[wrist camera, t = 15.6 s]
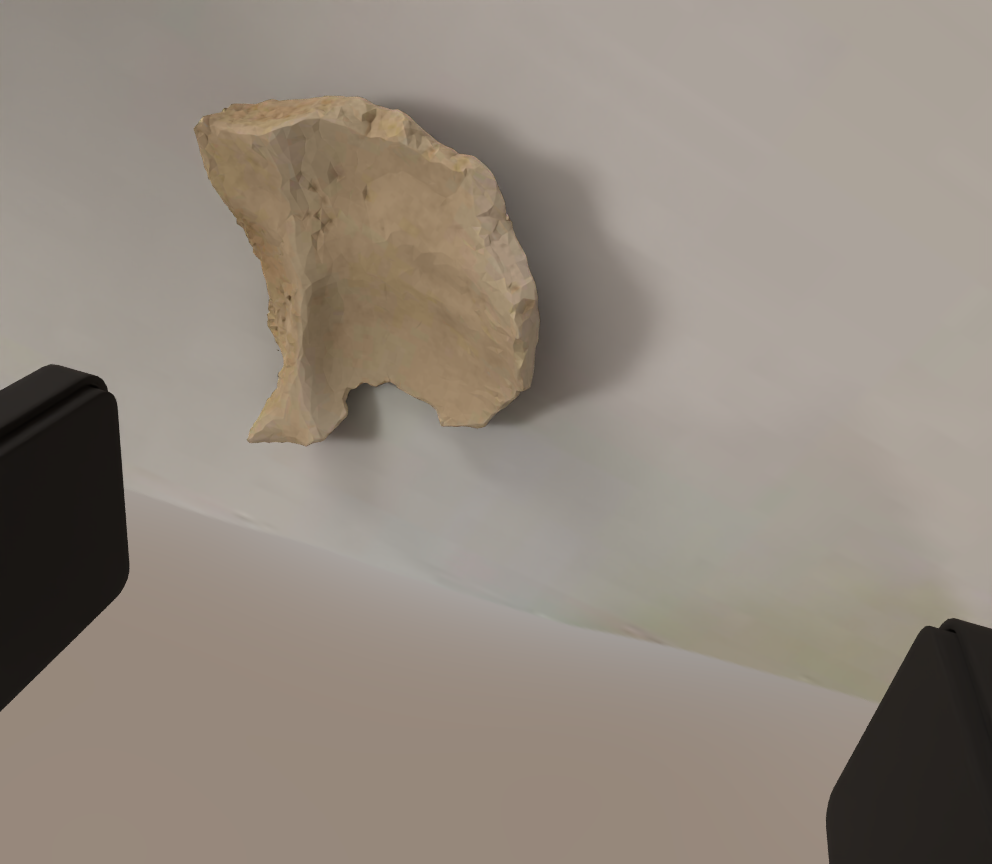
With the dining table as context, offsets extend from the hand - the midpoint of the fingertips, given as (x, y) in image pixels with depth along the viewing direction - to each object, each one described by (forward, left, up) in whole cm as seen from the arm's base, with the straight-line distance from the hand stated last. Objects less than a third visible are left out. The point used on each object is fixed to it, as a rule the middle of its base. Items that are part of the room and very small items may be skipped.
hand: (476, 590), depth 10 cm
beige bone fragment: (+12, +10, -31) cm, 34 cm away
